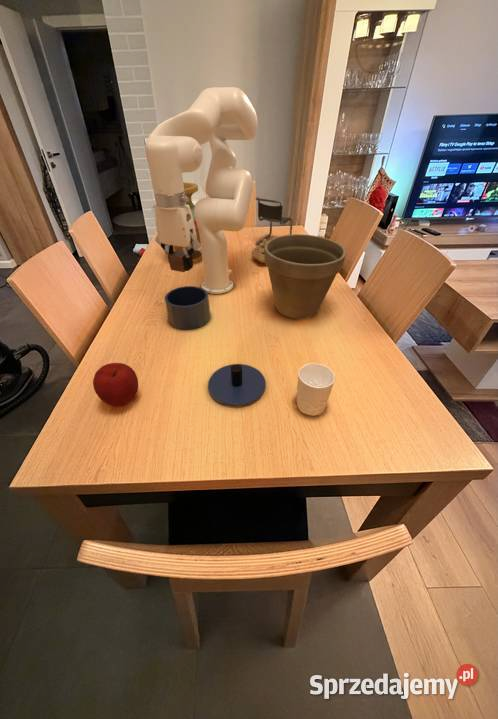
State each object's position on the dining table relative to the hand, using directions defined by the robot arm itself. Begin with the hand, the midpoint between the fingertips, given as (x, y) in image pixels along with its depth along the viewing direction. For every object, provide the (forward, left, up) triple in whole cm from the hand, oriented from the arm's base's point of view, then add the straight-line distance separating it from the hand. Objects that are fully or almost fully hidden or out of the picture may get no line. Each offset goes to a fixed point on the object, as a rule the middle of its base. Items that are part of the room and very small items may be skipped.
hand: (181, 267), depth 88 cm
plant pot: (-21, +32, -19) cm, 42 cm away
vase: (-45, -28, -19) cm, 56 cm away
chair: (-81, +2, -19) cm, 83 cm away
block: (0, 0, 0) cm, 0 cm away
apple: (+37, +4, -19) cm, 42 cm away
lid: (+22, +28, -18) cm, 40 cm away
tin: (-1, 0, -19) cm, 19 cm away
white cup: (+21, +47, -19) cm, 54 cm away
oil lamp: (-56, +6, -19) cm, 59 cm away
